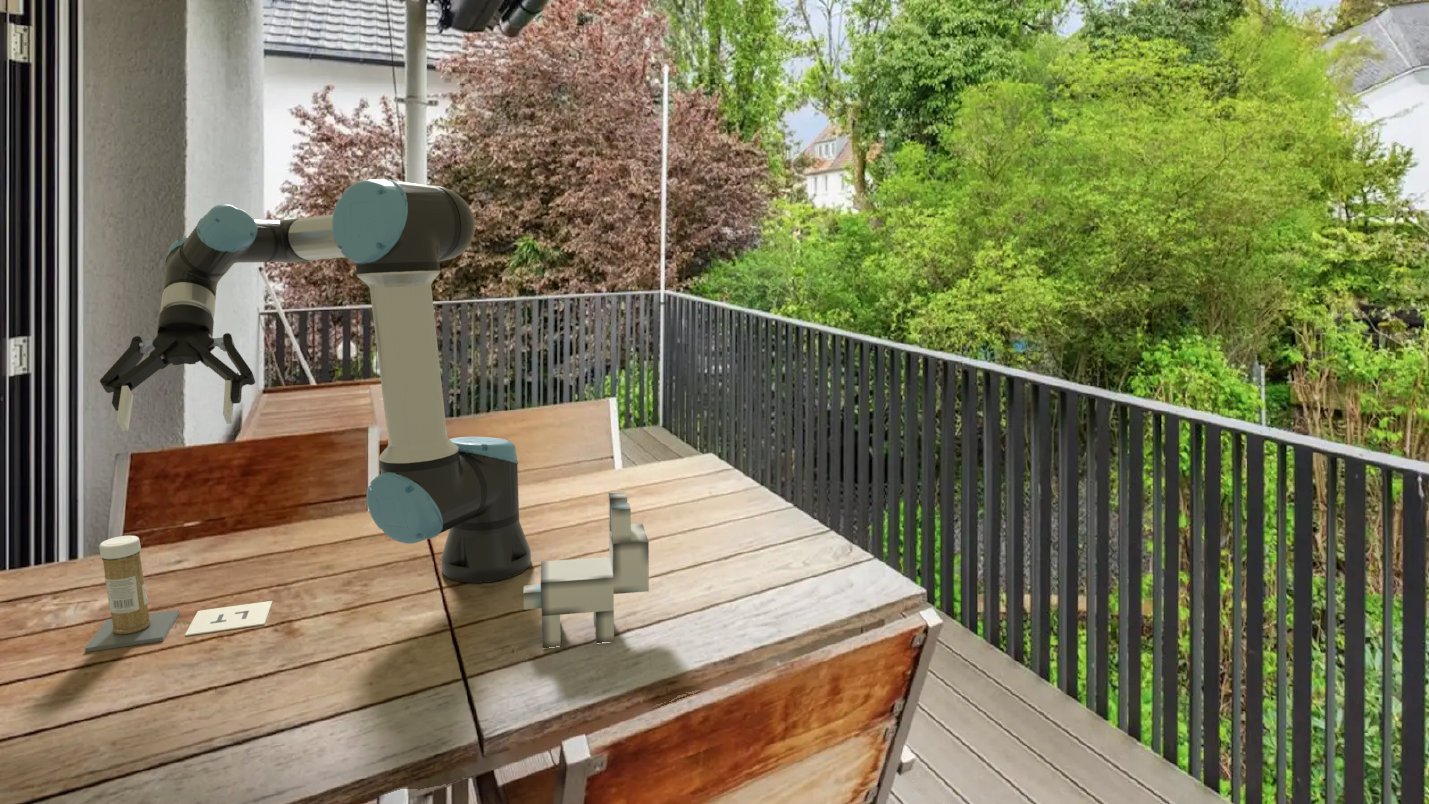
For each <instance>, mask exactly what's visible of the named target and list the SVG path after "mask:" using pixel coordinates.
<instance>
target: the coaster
mask: <svg viewBox="0 0 1429 804" xmlns="http://www.w3.org/2000/svg"><path fill="white" fill-rule="evenodd" d="M179 615H180V609H173V610H166V611H159V612H152V613H149V617H150V619H151V623H150V625H149V626H148V627H146V628H145V629H142V630H140V631H138V632H134V633H129V634H116V633H114V632H113V630H112V628H113V623H112V618H108V619H106V620H105V621H104V623H103V624H102V626H100V628H99V629H98V631H97V632H96V633H95V634H94V636H93V637H92V639H91V640H90V641H89V642H88V643H87V645H86V646H85V648H84V651H85V653H89V652H98V651H103V650H111V649H117V648H123V647H130V646H138V645H144V644H150V643H158V642H164V640H165V639H166V637H167V635H168V634H169V632H170V631H171V628H172V627H173V625H174V624H175V622H176V620H177V618H178V617H179ZM169 630H170V631H169Z"/></svg>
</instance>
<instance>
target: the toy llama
mask: <svg viewBox="0 0 1429 804" xmlns="http://www.w3.org/2000/svg"><path fill="white" fill-rule="evenodd" d="M631 509H632V508H631V506H630V503H629V502H628V496H627V492H608V539H609V541H608V546H609V547H608V548H609V549H608V550H609V552H608V553H609V555H608V556H604V557H590V558H589V557H588V558H587V557H586V558H574V559H572V558H571V559H560V560H559V559H557V560H545V561H540V563H541V564H540V584H529V585H523V589H522V590H523V591H522V592H523V593H522V595H523V610H533V609H534V610H535V609H541V610H540V611H541V631H542V633H541V636H542V637H541V640H542V642H541V643H542V649H543V648H549V647H556V646H561V645H562V644H561V643H562V641H561V638H562V637H561V636H562V635H561V616H562V615H573V614H586V613H593V624H594V625H593V626H595V627H594V630H595V642H596V643H602V642H614V643H615V616H614V615H615V608H614V603H615V602H614V601H615V599H614V595H617V594H618V595H619V594H630V593H632V594H633V593H643V592H644V593H646V592H650V590H649V589H650V587H649V586H650V583H649V581H650V575H649V574H650V572H649V571H650V568H649V564H650V563H649V562H650V561H649V558H650V557H649V553H650V552H649V551H650V549H649V546H650V544H649V542H650V541H649V539H648V535H647V533H646V529H645V527H644V524H643V523H631V522H632V521H631V520H632V517H631V516H632V514H631ZM596 643H595V644H596ZM561 647H562V646H561Z"/></svg>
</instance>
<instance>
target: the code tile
mask: <svg viewBox="0 0 1429 804" xmlns="http://www.w3.org/2000/svg"><path fill="white" fill-rule="evenodd" d="M272 604H273V600H269V601H262V602H261V601H260V602H259V601H258V602H254V603H245V604H238V605H237V604H236V605H232V606H224V607H216V608H215V607H214V608H209V609H202V610H197V612H196V614H195V616H194V617H193V619H192V621H191V623H190V625H189V627H187V630H186V632H185V634H184V636H185V637H189V636H196V635H202V634H208V633H215V632H224V631H228V630H230V631H231V630H236V629H241V628H242V629H244V628H249V627H251V628H252V627H257V626H265V624H266V622H267V619H268V616H269V613H270V610H271V607H272Z"/></svg>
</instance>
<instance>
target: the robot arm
mask: <svg viewBox="0 0 1429 804" xmlns="http://www.w3.org/2000/svg"><path fill="white" fill-rule="evenodd" d="M474 218H475V217H474V214H473V212H472V210H471V207H470V206H469V204H468V203H467V202H466V200H465V199H464V198H463V197H461V196H460V195H459V194H458V193H456V192H455V191H454V190H451V189H448V188H447V187H444V186H440V185H429V184H420V183H415V182H414V183H413V182H406V181H399V180H394V179H363V180H360V181H357V182H355V183H353V184H351V185H350V186H348V187H347V188H346V189H345V190H344V191H343V192H342V194H341V197H340V198H338V200H337V202H336V204H335V207H334V211H333V213H332V214H325V215H318V216H311V217H310V216H308V217H300V218H291V219H290V218H289V219H260V218H253V217H252V216H251V215H250V214H249V213H248V212H247V211H245V210H243V209H242V208H238V207H235V206H234V205H232V204H229V203H228V204H227V203H224V204H217V205H215V206H213V207H212V208H210V210H209V211H208V212H207V213H206V214H205V215H203V216H202V217H201V218H200V219H199V221H198V222H197V224H196V226H195V227H194V229H193V230H192V231H191V233H190V234H189V235H188V236H187V237H183V238H182V239H178V240H176V241H173V243H172V244H170V246H169V249H168V252H167V255H166V258H165V260H164V262H165V265H164V266H165V269H164V270H165V271H164V279H163V286H162V287H163V288H162V295H161V300H160V301H161V302H160V309H159V310H160V311H159V319H158V324H157V325H158V326H157V334H156V337H155V338H154V339H153V340H151V339H142V337H141V336H139V335H136V336H133V337H132V338H131V341H130V345H129V346H128V348H127V349H126V350H125V351H124V353H122V355H121V356H120V357H119V358H118V359H117V360H116V361H115V363H114V364H113V365H112V366H111V367H110V368H109V369H108V371H106V372H105V373H104V374H103V375H102V377H101V378H100V379H99V383H100V385H101V386H102V388H103V390H104V391H105V392H106V393H107V394H111V393H113V394H112V398H111V404H112V406H113V408H114V410H115V412H117V417H116V422H117V425H118V427H119V428H120V430H121V431H122V432H129V429H130V423H131V417H132V415H131V414H132V409H133V402H134V401H133V400H134V394H133V393H132V391H133V390H134V389H136V388H137V387H138V386H139V385H141V384H142V383H144V382H145V381H146V380H147V379H149V378H150V377H151V376H153V375H154V374H155V373H157V372H158V371H160V370H164V369H165V368H166V367H168V366H169V365H170V364H171V365H172V366H181V365H196V363H199V362H201V364H203V365H204V366H205V367H207V368H209V369H211V370H212V371H213V372H214V373H216V374H217V375H218V376H219V377H220V378H221V379H223V380H224V381H225V382H224V394H223V395H224V396H223V413H222V416H223V417H224V420H225V423H226V424H227V425H229V424H233V418H234V405H235V404H240V403H241V401H242V391H243V387H244V386H246V385H249V386H253V385H255V384H256V379H255V376H254V374H253V371H252V369H251V368H250V367H249V365H248V364H247V362H246V361H245V359H244V358H243V356H241V354H240V353H239V351H238V350H237V348H236V347H235V343H234V339H233V336H232V334H231V333H228V332H226V333H224V334H223V336H222V337H215V338H214V337H213V335H214V334H213V333H214V325H215V324H214V323H215V321H214V319H215V311H216V310H215V309H216V300H217V299H216V298H217V297H216V295H217V288H218V287H217V286H218V284H219V281H220V280H221V279H222V278H223V276H225V275H226V273H227V272H228V271H229V270H230V269H231V268H232V267H233V266H234V264H237V263H238V264H239V263H302V264H303V263H308V262H314V261H317V260H328V259H329V260H330V259H338V258H339V259H340V258H342V259H343V258H345V259H348V260H349V261H351V262H353V263H355V270H356V277H357V278H358V279H360V280H361V281H362V282H363V283H365V284H366V285H367V287H368V288H369V293H370V300H371V301H370V302H371V308H372V309H371V311H372V319H373V326H374V336H375V342H376V350H377V351H376V352H377V360H378V367H379V376H380V385H381V392H382V399H383V400H382V401H383V409H384V417H385V425H386V434H387V440H388V441H387V442H388V443H387V446H386V448H384V450H383V451H382V452H381V453H380V454H379V465H380V466H379V468H380V473H379V474H378V475H377V476H375V478H373V479H372V480H371V481H370V484H369V486H368V487H367V491H366V504H367V509H368V511H369V514H370V517H371V518H372V519H373V522H374V524H376V526H377V527H378V528H379V529H380V530H382V532H384V533H383V534H385V536H387V537H388V538H390V539H391V540H393V541H396V542H397V543H398V542H399V543H402V544H410V545H411V544H416V543H420V542H423V541H425V540H429V539H433V538H436V537H437V536H439V535H440V534H442V533H444V532H447V531H448V530H449V531H448V533H447V537H446V540H445V545H444V548H443V551H442V553H441V554H442V555H441V560H440V561H441V571H442V574H443V575H444V577H447V578H448V579H450V580H453V581H456V582H461V583H468V584H469V583H471V584H474V583H475V584H477V583H478V584H480V583H481V584H482V583H483V584H484V583H491V582H498V581H503V580H506V579H509V578H513V577H515V576H517V575H519V574H521V573H524V572H525V571H526V570H527V569H529V567H530V565H531V563H532V559H531V558H532V557H531V556H532V555H531V548H530V545H529V543H528V540H527V537H526V534H525V532H524V529H523V527H522V524H521V522H520V507H519V506H520V504H519V473H518V469H519V467H518V465H519V461H518V455H517V454H518V453H517V448H516V446H515V444H514V442H512V441H511V440H508V439H504V438H498V437H489V436H461V437H453V438H448V433H447V431H448V430H447V422H446V413H445V402H444V395H443V386H442V385H443V384H442V377H441V365H440V358H439V357H440V356H439V347H438V337H437V330H436V329H437V328H436V319H435V309H434V302H433V301H434V300H433V290H432V284H433V282H434V281H435V280H436V279H437V277H438V276H439V275H440V274H441V266H440V262H445V261H449V260H452V259H455V258H456V257H458V256H460V255H462V254H463V253H464V252H465V251H466V250H468V248H469V247H470V245H471V243H472V242H473V238H474V236H475V230H476V224H475V223H476V222H475V219H474ZM216 347H218V348H219V349H220V350H222V351H223V352H226V354H227V357H228V358H229V359H230V361H231V363H232V364H233V365H234V367H235V368H236V370H237V372H235V371H234V370H233V369H232V368H231V367H229V365H227V364H225V363H224V362H223V361H222V360H221V359H219V358H218V357H217V356H215V355H214V354H213V353H212V351H213V350H214V349H215V348H216ZM150 350H151V352H150V353H149V351H150ZM148 353H149V355H148ZM144 355H145V356H146V355H148V356H147V357H146V358H145V359H143V357H144ZM142 359H143V360H142ZM141 360H142V361H141ZM140 361H141V362H140Z"/></svg>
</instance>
